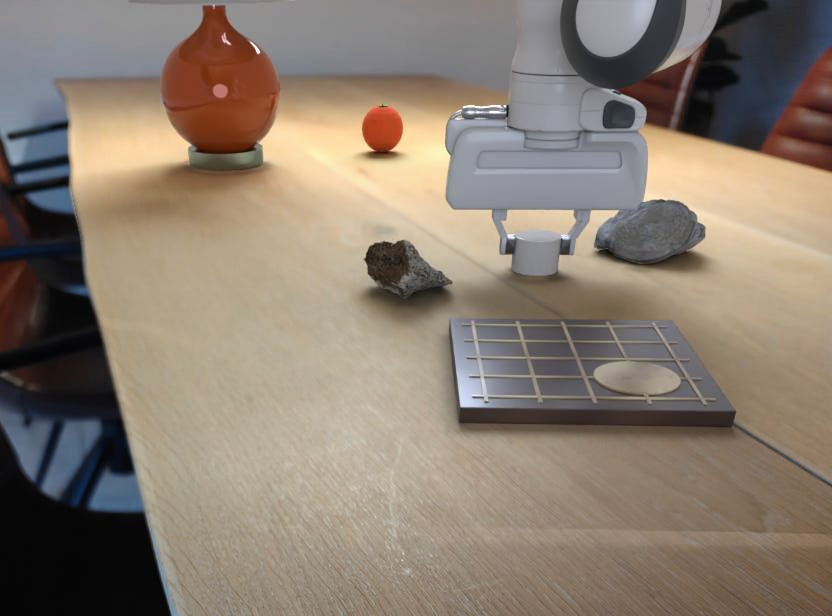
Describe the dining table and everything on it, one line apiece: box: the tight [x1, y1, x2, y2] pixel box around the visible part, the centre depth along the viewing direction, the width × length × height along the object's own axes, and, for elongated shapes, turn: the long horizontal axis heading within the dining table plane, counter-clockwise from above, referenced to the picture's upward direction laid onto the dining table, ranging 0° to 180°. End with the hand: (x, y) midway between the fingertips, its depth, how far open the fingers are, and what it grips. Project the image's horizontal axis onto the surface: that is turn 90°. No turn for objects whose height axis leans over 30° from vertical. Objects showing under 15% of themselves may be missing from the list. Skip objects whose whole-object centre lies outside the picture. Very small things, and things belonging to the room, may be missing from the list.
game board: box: [448, 317, 737, 427], centre depth 74 cm, size 20×20×1 cm
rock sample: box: [363, 234, 454, 300], centre depth 91 cm, size 10×8×9 cm
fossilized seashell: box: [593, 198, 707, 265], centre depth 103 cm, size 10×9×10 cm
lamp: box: [127, 0, 296, 171], centre depth 135 cm, size 25×25×39 cm
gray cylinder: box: [510, 229, 562, 277], centre depth 97 cm, size 5×5×4 cm
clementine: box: [361, 103, 404, 153], centre depth 152 cm, size 8×7×7 cm
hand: (536, 253), depth 97 cm, fingers closed on gray cylinder, 5 cm apart
